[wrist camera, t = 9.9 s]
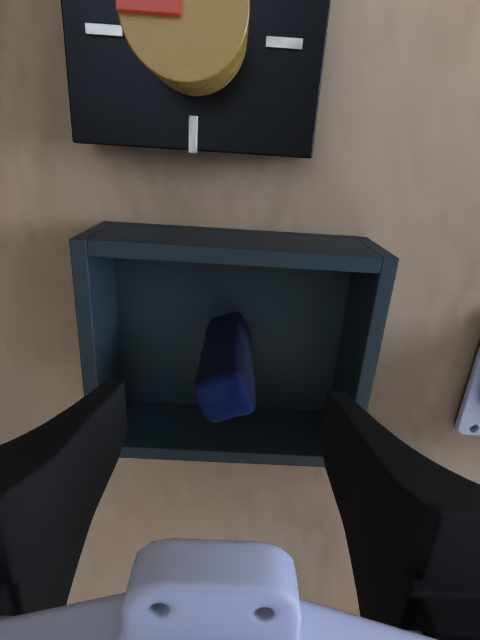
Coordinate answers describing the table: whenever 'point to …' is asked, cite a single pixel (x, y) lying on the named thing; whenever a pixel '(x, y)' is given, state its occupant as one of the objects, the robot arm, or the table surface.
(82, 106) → the block
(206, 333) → the eraser
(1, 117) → the table surface
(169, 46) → the tap knob
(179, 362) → the dark teal open box
